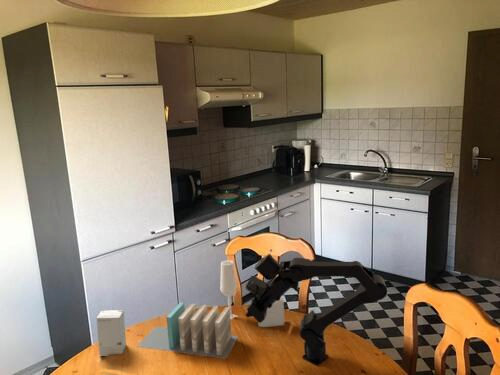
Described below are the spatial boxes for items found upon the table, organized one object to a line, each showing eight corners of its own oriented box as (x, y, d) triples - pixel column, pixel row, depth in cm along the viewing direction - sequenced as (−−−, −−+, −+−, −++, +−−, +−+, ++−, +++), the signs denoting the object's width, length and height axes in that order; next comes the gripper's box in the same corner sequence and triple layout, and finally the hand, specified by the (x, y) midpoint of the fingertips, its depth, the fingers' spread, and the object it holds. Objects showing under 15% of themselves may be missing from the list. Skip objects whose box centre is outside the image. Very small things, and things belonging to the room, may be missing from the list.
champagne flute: (218, 319, 167) (215, 262, 162) (231, 312, 171) (228, 258, 167) (229, 325, 162) (225, 267, 157) (242, 318, 167) (239, 262, 162)
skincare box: (99, 357, 145) (94, 318, 142) (104, 347, 151) (100, 310, 148) (123, 356, 145) (119, 317, 142) (128, 346, 151) (123, 308, 148)
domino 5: (231, 337, 151) (229, 307, 149) (221, 355, 141) (219, 322, 139) (227, 337, 152) (225, 306, 150) (216, 354, 142) (214, 322, 139)
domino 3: (208, 334, 154) (206, 305, 152) (197, 351, 144) (194, 320, 141) (204, 334, 154) (202, 304, 152) (192, 351, 144) (190, 319, 142)
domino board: (238, 338, 152) (238, 336, 152) (226, 361, 139) (226, 358, 139) (155, 328, 162) (155, 326, 162) (136, 349, 149) (136, 346, 149)
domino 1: (186, 332, 157) (184, 302, 154) (173, 348, 146) (170, 317, 144) (182, 331, 157) (180, 302, 155) (169, 348, 147) (166, 317, 144)
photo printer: (258, 330, 158) (257, 300, 155) (257, 324, 162) (256, 294, 159) (285, 327, 158) (284, 297, 156) (283, 321, 163) (282, 292, 160)
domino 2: (197, 333, 155) (195, 303, 153) (185, 350, 145) (182, 318, 143) (193, 333, 156) (191, 303, 153) (180, 349, 145) (178, 318, 143)
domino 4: (220, 336, 153) (218, 306, 150) (209, 353, 142) (206, 321, 140) (216, 335, 153) (213, 305, 151) (204, 352, 143) (202, 321, 140)
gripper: (266, 260, 146) (238, 287, 151) (252, 282, 128) (220, 312, 133) (289, 282, 145) (259, 309, 150) (277, 308, 127) (245, 336, 133)
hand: (246, 315), depth 142 cm, fingers closed
